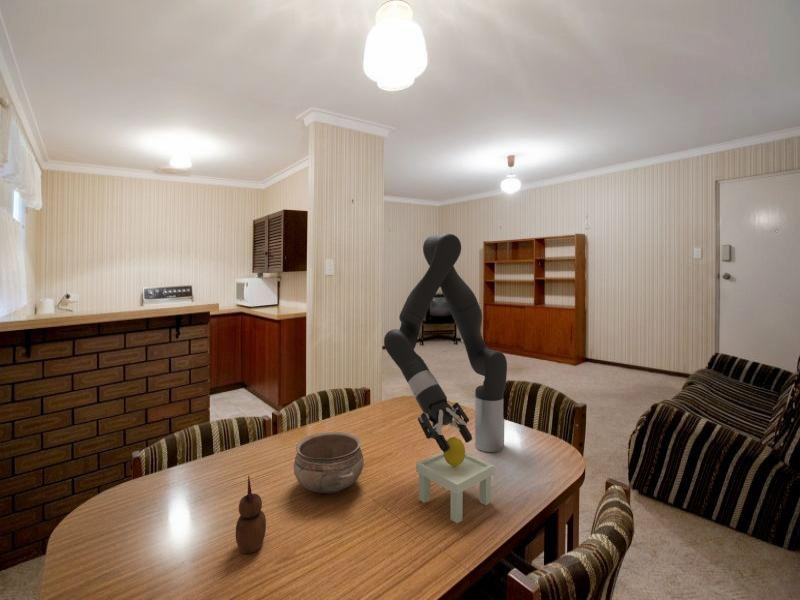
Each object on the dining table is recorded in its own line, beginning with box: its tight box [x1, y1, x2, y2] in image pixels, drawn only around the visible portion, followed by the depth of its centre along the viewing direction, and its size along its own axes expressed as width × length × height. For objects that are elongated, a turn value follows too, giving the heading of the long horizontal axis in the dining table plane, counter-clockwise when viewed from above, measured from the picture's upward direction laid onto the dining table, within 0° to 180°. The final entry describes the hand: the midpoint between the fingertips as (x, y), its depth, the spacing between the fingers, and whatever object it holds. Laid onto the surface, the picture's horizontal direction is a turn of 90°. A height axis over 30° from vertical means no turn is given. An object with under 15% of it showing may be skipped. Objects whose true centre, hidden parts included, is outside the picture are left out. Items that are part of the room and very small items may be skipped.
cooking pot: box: [293, 431, 365, 495], centre depth 108 cm, size 25×19×12 cm
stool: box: [415, 451, 495, 524], centre depth 101 cm, size 14×14×10 cm
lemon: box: [442, 436, 466, 467], centre depth 101 cm, size 6×6×8 cm
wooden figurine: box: [235, 475, 267, 554], centre depth 84 cm, size 7×6×15 cm
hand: (458, 445), depth 100 cm, fingers open, 8 cm apart
